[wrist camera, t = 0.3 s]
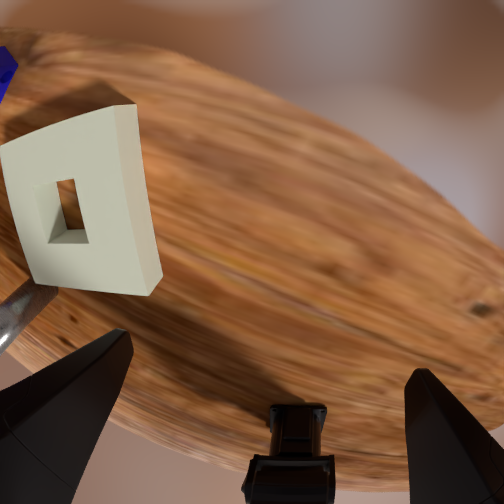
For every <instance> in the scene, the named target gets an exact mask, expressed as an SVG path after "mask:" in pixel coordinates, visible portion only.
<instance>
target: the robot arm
mask: <svg viewBox="0 0 504 504" xmlns="http://www.w3.org/2000/svg"><path fill="white" fill-rule="evenodd" d="M133 353H134V349H133V345H132V341H131V337H130V333H129V332H128V331H127V330H123V329H120V328H116V329H114V330H112V331H110V332H108V333H107V334H105V335H103V336H101V337H99V338H98V339H96V340H94V341H92V342H90V343H89V344H87V345H85V346H83V347H81V348H80V349H78V350H76V351H74V352H72V353H70V354H69V355H67V356H65V357H63V358H61V359H60V360H58V361H56V362H54V363H52V364H51V365H49V366H47V367H45V368H43V369H42V370H40V371H38V372H36V373H34V374H33V375H32V376H29V377H27V378H25V379H23V380H22V381H20V382H18V383H16V384H14V385H12V386H10V387H8V388H6V389H3V390H1V391H0V504H71V503H72V500H73V498H74V495H75V492H76V489H77V487H78V485H79V482H80V480H81V477H82V475H83V473H84V470H85V468H86V466H87V463H88V460H89V459H90V456H91V454H92V452H93V450H94V447H95V445H96V443H97V440H98V438H99V436H100V434H101V432H102V430H103V427H104V425H105V423H106V421H107V419H108V417H109V415H110V412H111V410H112V408H113V406H114V404H115V402H116V400H117V398H118V395H119V393H120V390H121V388H122V385H123V382H124V379H125V376H126V373H127V371H128V368H129V365H130V362H131V360H132V357H133ZM404 398H405V434H406V444H407V455H408V467H409V485H410V504H504V449H503V448H502V447H501V446H500V445H499V444H498V442H497V441H496V440H495V439H494V438H493V437H492V436H491V435H490V434H489V433H488V431H487V430H486V429H485V428H484V427H483V426H482V425H481V424H480V423H479V422H478V420H477V419H476V418H475V417H474V416H473V415H472V414H471V413H470V412H469V411H468V410H467V409H466V408H465V406H464V405H463V404H462V403H461V402H460V401H459V400H458V399H457V398H456V397H455V396H454V395H453V394H452V393H451V392H450V391H449V390H448V389H447V388H446V387H445V385H444V384H443V383H442V382H441V381H440V380H439V379H438V378H437V377H436V376H435V375H434V374H433V373H432V372H431V371H430V370H429V369H427V368H417V369H415V370H414V372H413V373H412V375H411V377H410V378H409V380H408V382H407V383H406V385H405V389H404ZM326 414H327V407H324V406H279V405H272V406H271V407H270V432H271V433H272V437H271V444H270V452H269V456H265V455H259V454H254V458H253V459H251V460H250V464H249V469H248V473H247V475H246V478H245V480H244V482H243V485H242V487H241V491H242V492H243V493H244V494H245V501H246V504H334V499H335V486H336V482H335V462H334V455H329V456H320V454H321V432H322V428H323V425H324V421H325V417H326Z"/></svg>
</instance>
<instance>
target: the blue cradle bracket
mask: <svg viewBox="0 0 504 504" xmlns="http://www.w3.org/2000/svg"><path fill="white" fill-rule="evenodd" d="M17 67H18V64H17V62H16V61H15V60H14V58H13V57H12V56H11V54H10V53H9V52H8V50H7V49H6V47H5V46H0V103H1V101H2V99H3V96H4V94H5V92H6V90H7V87H8V85H9V83H10V81H11V79H12V77H13V75H14V73H15V71H16V69H17Z"/></svg>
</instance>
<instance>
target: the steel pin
mask: <svg viewBox="0 0 504 504" xmlns="http://www.w3.org/2000/svg"><path fill="white" fill-rule="evenodd" d="M57 294H58V286H51V285H44V284H37V283H35V281H34V279H33V276H31V277H30V278H29V279H28V280H27V281H25V282H24V283H23V284H22V285H21V286H20V287H19V288H17V289H16V290H15V291H14V292H13V293H12V294H11V295H10V296H9V297H7V298H6V299H5V300H4V301H3V302H2V303H1V304H0V355H1V354H2V353H3V352H4V351H5V350H6V349H7V347H8V346H9V345H10V344H11V343H12V342H13V341H14V340H15V338H16V337H17V336H18V335H19V334H20V333H21V332H22V331H23V330H24V329H25V327H26V326H27V325H28V324H29V323H30V322H31V321H32V320H33V319H34V318H35V317H36V316H37V315H38V314H39V313H40V312H41V311H42V310H43V309H44V308H45V307H46V306H47V305H48V304H49V303H50V302H51V301H52V300H53V299H54V298H55V297H56V296H57Z"/></svg>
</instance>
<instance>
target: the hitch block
mask: <svg viewBox="0 0 504 504" xmlns="http://www.w3.org/2000/svg"><path fill="white" fill-rule="evenodd" d="M0 157H1V163H2V169H3V175H4V180H5V185H6V189H7V194H8V198H9V203H10V207H11V211H12V214H13V218H14V222H15V225H16V229H17V232H18V235H19V239H20V242H21V245H22V248H23V251H24V254H25V257H26V260H27V263H28V265H29V268H30V271H31V274H32V276H33V279H34V281H35V283H37V284H44V285H51V286H59V287H66V288H74V289H83V290H92V291H101V292H110V293H120V294H130V295H141V296H149V295H150V293H151V292H152V291H153V289H154V288H155V287H156V285H157V284H158V282H159V281H160V280H161V278H162V277H163V273H162V269H161V264H160V259H159V255H158V250H157V245H156V240H155V235H154V229H153V224H152V218H151V213H150V207H149V201H148V195H147V188H146V182H145V175H144V168H143V160H142V153H141V144H140V136H139V126H138V116H137V105H136V104H131V105H114V106H110V107H106V108H103V109H99V110H95V111H92V112H89V113H85V114H82V115H79V116H76V117H73V118H69V119H66V120H64V121H61V122H58V123H55V124H52V125H49V126H47V127H44V128H41V129H39V130H36V131H34V132H31V133H29V134H26V135H24V136H21V137H19V138H17V139H15V140H12V141H10V142H8V143H6V144H3V145H1V146H0ZM73 178H74V180H75V186H76V191H77V196H78V200H79V205H80V209H81V214H82V218H83V222H84V226H85V229H75V230H67V226H66V223H65V219H64V215H63V210H62V206H61V202H60V197H59V193H58V188H57V183H56V181H62V180H67V179H73Z"/></svg>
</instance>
